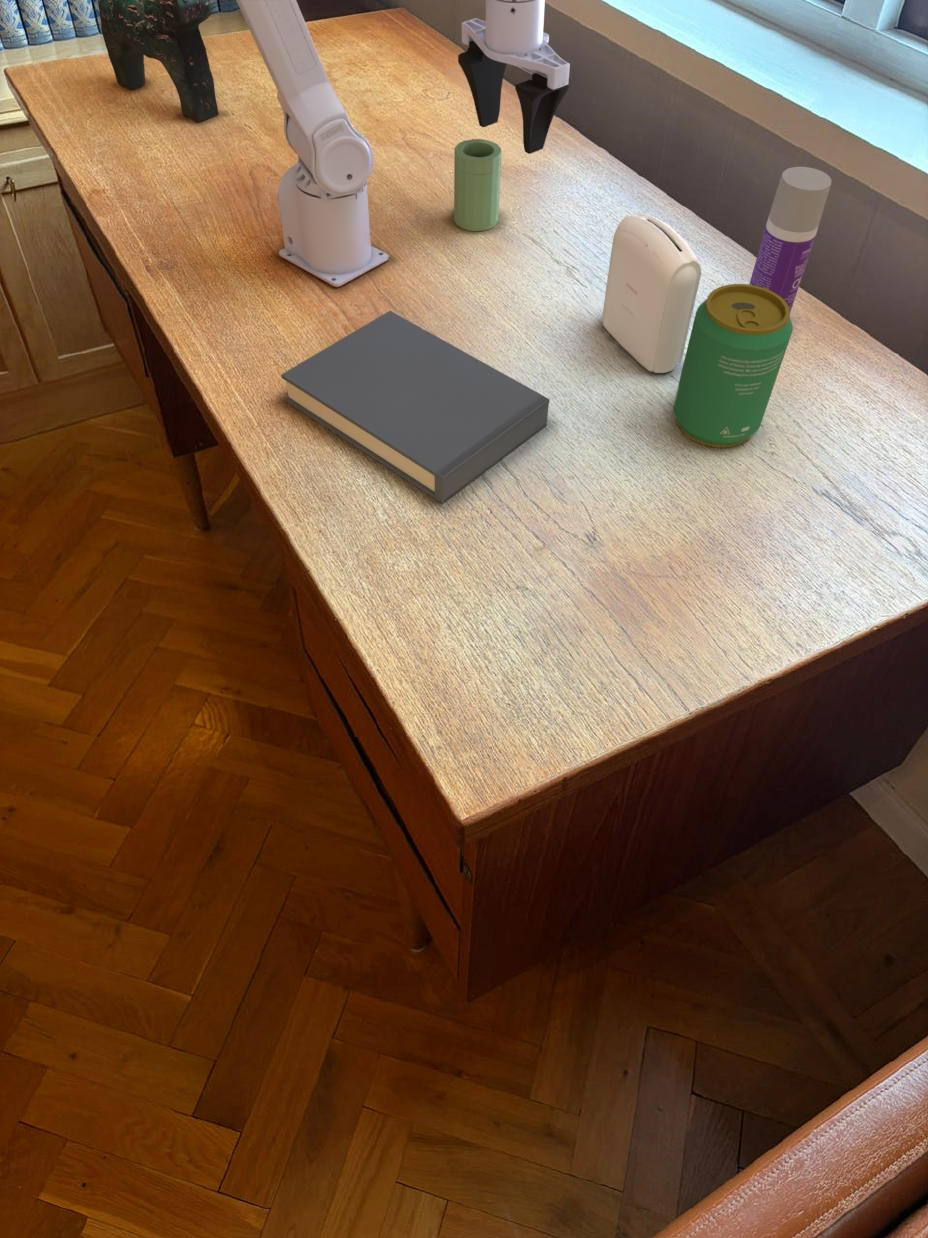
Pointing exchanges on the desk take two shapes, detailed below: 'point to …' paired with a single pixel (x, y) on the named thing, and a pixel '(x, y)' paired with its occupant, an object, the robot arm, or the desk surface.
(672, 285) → the photo printer
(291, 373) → the book
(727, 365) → the beverage can
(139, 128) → the desk surface
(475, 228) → the jar
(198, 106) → the ceramic cat
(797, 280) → the container
